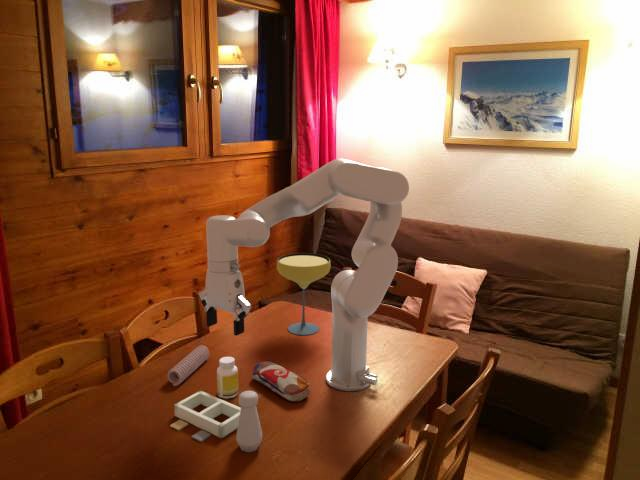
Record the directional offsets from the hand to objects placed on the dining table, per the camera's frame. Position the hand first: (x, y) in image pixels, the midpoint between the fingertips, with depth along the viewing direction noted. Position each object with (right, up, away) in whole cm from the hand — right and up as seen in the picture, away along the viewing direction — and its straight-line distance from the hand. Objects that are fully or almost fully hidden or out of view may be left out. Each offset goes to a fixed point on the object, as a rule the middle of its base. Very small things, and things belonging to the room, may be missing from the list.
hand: (225, 329), depth 136 cm
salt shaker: (+9, -23, -18) cm, 31 cm away
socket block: (-2, -20, -7) cm, 22 cm away
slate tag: (-3, -22, -15) cm, 27 cm away
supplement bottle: (0, -18, +4) cm, 19 cm away
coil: (-13, -15, +17) cm, 26 cm away
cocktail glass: (+19, -8, +47) cm, 51 cm away
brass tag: (-9, -21, -11) cm, 25 cm away
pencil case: (+14, -18, +8) cm, 23 cm away
